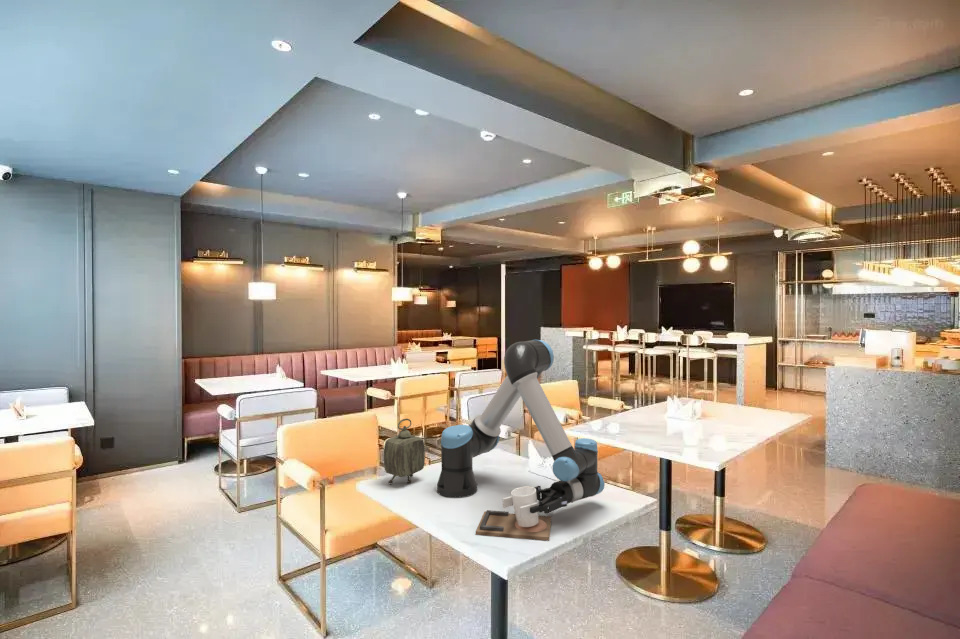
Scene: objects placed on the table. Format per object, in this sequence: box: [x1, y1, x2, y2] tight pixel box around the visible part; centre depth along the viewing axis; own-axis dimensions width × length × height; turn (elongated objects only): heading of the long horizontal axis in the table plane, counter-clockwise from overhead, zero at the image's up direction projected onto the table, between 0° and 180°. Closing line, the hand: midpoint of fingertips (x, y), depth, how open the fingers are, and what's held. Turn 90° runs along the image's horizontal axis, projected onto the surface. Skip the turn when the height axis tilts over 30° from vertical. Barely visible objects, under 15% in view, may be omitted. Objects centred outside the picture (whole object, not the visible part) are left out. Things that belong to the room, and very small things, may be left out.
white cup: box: [510, 486, 539, 527], centre depth 156 cm, size 8×8×10 cm
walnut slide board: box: [475, 509, 552, 542], centre depth 156 cm, size 22×15×2 cm
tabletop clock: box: [383, 418, 426, 484], centre depth 196 cm, size 14×9×25 cm, turn 140°
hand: (511, 507), depth 153 cm, fingers closed on white cup, 8 cm apart
